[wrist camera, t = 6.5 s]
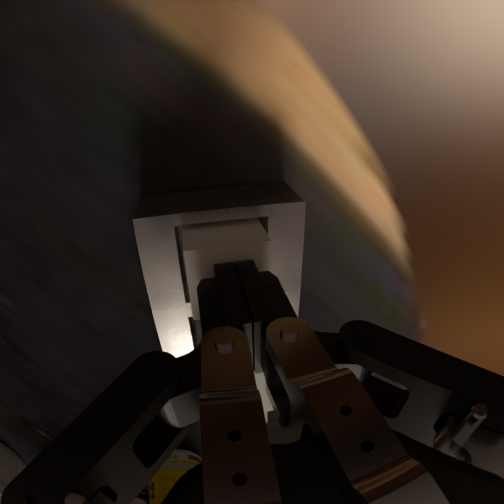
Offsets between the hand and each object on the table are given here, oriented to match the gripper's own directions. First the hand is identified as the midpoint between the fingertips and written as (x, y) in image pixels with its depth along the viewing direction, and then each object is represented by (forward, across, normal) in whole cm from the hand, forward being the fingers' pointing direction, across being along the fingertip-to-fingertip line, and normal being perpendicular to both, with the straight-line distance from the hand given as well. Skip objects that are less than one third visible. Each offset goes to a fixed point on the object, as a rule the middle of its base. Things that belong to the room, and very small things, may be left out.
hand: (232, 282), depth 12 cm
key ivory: (+4, 0, 0) cm, 4 cm away
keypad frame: (+5, 0, +5) cm, 7 cm away
